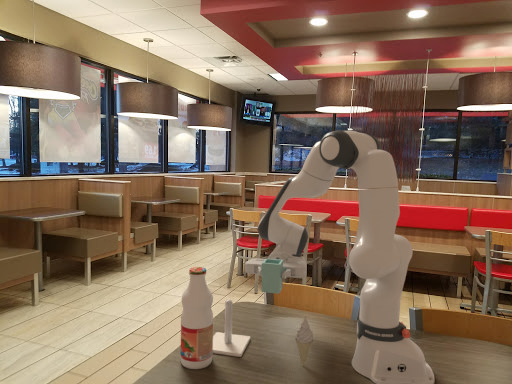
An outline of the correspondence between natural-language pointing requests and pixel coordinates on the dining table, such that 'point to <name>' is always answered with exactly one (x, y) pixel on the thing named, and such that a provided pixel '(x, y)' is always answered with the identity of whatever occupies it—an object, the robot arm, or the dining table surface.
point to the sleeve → (272, 276)
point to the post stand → (229, 337)
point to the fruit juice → (197, 322)
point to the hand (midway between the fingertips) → (271, 274)
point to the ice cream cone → (304, 340)
